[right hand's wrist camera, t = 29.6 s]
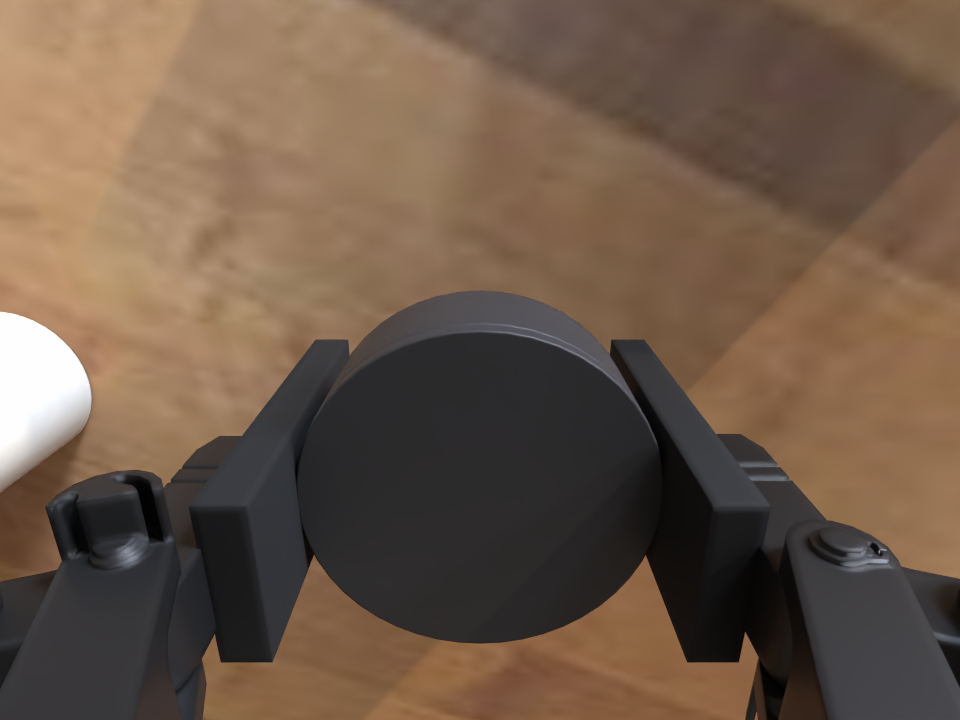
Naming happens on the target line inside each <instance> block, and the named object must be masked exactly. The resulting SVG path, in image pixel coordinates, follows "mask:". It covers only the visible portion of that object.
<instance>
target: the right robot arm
mask: <svg viewBox="0 0 960 720" xmlns="http://www.w3.org/2000/svg"><path fill="white" fill-rule="evenodd" d="M349 357H350V356H349V344H348V340H315V341H314V342H313V344H312V345H311V346H310V348H309V349H308V350H307V352H306V353H305V354H304V356H303V357H302V358H301V360H300V361H299V362H298V363H297V365H296V366H295V367H294V369H293V370H292V371H291V373H290V374H289V375H288V377H287V378H286V379H285V380H284V382H283V383H282V384H281V386H280V387H279V388H278V390H277V391H276V392H275V394H274V395H273V396H272V398H271V399H270V400H269V401H268V403H267V404H266V405H265V407H264V408H263V409H262V411H261V412H260V413H259V415H258V416H257V417H256V418H255V420H254V421H253V422H252V424H251V425H250V426H249V428H248V429H247V430H246V432H245V433H244V434H243V436H219V437H217V438H216V439H214V440H212V441H211V442H209V443H207V444H206V445H204V446H202V447H201V448H199V449H197V450H196V451H195V452H194V454H193V455H192V456H191V457H190V458H189V459H188V460H187V462H186V463H185V464H184V465H183V469H180V470H179V471H178V472H177V473H176V474H175V475H174V477H173V478H172V479H171V483H167V485H166V486H165V487H164V488H163V484H162V480H161V479H160V478H159V477H158V476H156V475H155V474H153V473H151V472H145V471H140V470H128V471H116V472H111V473H107V474H102V475H98V476H94V477H92V478H89V479H87V480H84V481H81V482H79V483H76V484H74V485H72V486H71V487H69V488H67V489H66V490H64V491H62V492H61V493H59V494H57V495H56V496H55V497H54V498H53V499H52V500H51V501H50V502H49V504H48V505H47V506H46V507H45V508H46V511H47V514H48V518H49V521H50V524H51V527H52V530H53V534H54V537H55V540H56V543H57V546H58V550H59V553H60V556H61V559H62V562H61V564H60V566H59V568H58V570H54V571H50V572H46V573H41V574H36V575H31V576H26V577H21V578H16V579H11V580H6V581H2V582H0V720H202V718H203V709H204V701H205V692H206V678H205V671H204V667H203V662H202V657H203V655H204V653H205V651H206V649H207V648H208V646H209V644H210V642H211V640H212V638H213V636H214V634H215V636H216V641H217V646H218V651H219V655H220V660H221V662H273V659H274V657H275V654H276V652H277V649H278V646H279V644H280V641H281V639H282V636H283V633H284V631H285V628H286V626H287V623H288V620H289V618H290V615H291V613H292V610H293V607H294V605H295V602H296V600H297V597H298V594H299V592H300V589H301V587H302V584H303V581H304V579H305V576H306V574H307V571H308V569H309V566H310V563H311V561H312V558H313V556H314V553H313V551H312V549H311V547H310V545H309V544H308V541H307V538H306V536H305V533H304V530H303V527H302V525H301V519H300V511H299V504H298V496H297V487H296V477H297V467H298V460H299V457H300V453H301V449H302V445H303V442H304V439H305V437H306V435H307V432H308V430H309V428H310V426H311V423H312V421H313V419H314V418H315V416H316V414H317V412H318V411H319V409H320V407H321V405H322V403H323V402H324V400H325V398H326V396H327V395H328V393H329V391H330V389H331V387H332V386H333V384H334V382H335V380H336V379H337V377H338V375H339V373H340V372H341V370H342V368H343V366H344V365H345V363H346V362H347V360H348V359H349ZM610 357H611V358H612V360H613V362H614V363H615V365H616V366H617V368H618V370H619V371H620V373H621V375H622V377H623V378H624V380H625V382H626V384H627V386H628V387H629V389H630V391H631V393H632V394H633V396H634V398H635V400H636V401H637V403H638V405H639V407H640V408H641V410H642V412H643V414H644V415H645V417H646V419H647V421H648V423H649V425H650V427H651V430H652V432H653V434H654V437H655V439H656V441H657V444H658V448H659V452H660V456H661V460H662V465H663V475H664V484H663V493H662V501H661V509H660V516H659V523H658V528H657V531H656V533H655V536H654V539H653V541H652V544H651V546H650V548H649V549H648V551H647V553H646V557H647V559H648V562H649V564H650V567H651V569H652V572H653V575H654V577H655V580H656V582H657V585H658V588H659V590H660V593H661V595H662V598H663V601H664V603H665V606H666V608H667V611H668V614H669V616H670V619H671V621H672V624H673V627H674V629H675V632H676V634H677V637H678V640H679V642H680V645H681V647H682V650H683V653H684V655H685V658H686V660H687V662H739V658H740V653H741V649H742V644H743V639H744V634H745V632H746V634H747V636H748V638H749V639H750V641H751V643H752V645H753V647H754V649H755V651H756V653H757V655H758V657H759V658H758V662H757V667H756V671H755V676H754V680H753V685H752V689H751V694H750V698H749V703H748V707H747V712H746V719H745V720H754V719H755V715H756V712H757V716H758V720H960V579H957V578H952V577H947V576H942V575H937V574H932V573H927V572H922V571H917V570H913V569H908V568H905V567H901V565H900V563H899V561H898V559H897V558H896V557H895V555H894V554H893V553H892V552H891V550H890V549H889V548H888V547H887V546H886V545H884V544H883V543H881V542H880V541H879V540H877V539H876V538H874V537H873V536H872V535H869V534H867V533H865V532H863V531H861V530H858V529H856V528H854V527H852V526H849V525H845V524H841V523H837V522H833V521H827V520H826V519H825V518H824V517H823V515H822V514H821V513H820V512H819V511H818V510H817V509H816V507H815V506H814V505H813V504H812V503H811V502H810V501H809V499H808V498H807V497H806V496H805V495H804V494H803V493H802V491H801V490H800V489H799V488H798V487H797V486H796V485H795V483H794V482H793V481H789V477H788V475H787V474H786V473H785V472H784V471H783V470H782V469H781V468H780V467H778V466H777V463H776V462H775V461H774V460H773V458H772V457H771V456H770V455H769V454H768V453H767V452H766V450H765V449H764V448H763V447H761V446H759V445H758V444H756V443H754V442H753V441H751V440H749V439H748V438H746V437H744V436H743V435H741V434H716V433H715V432H714V431H713V430H712V428H711V427H710V426H709V424H708V423H707V422H706V420H705V419H704V418H703V416H702V415H701V414H700V412H699V411H698V410H697V409H696V407H695V406H694V405H693V403H692V402H691V401H690V399H689V398H688V397H687V395H686V394H685V393H684V392H683V390H682V389H681V388H680V386H679V385H678V384H677V382H676V381H675V380H674V378H673V377H672V376H671V374H670V373H669V372H668V371H667V369H666V368H665V367H664V365H663V364H662V363H661V361H660V360H659V359H658V357H657V356H656V355H655V353H654V352H653V351H652V350H651V348H650V347H649V346H648V344H647V343H646V342H645V340H611V351H610Z"/></svg>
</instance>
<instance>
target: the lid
mask: <svg viewBox="0 0 960 720" xmlns="http://www.w3.org/2000/svg"><path fill="white" fill-rule="evenodd" d="M663 484H664V475H663V465H662V460H661V456H660V452H659V448H658V444H657V441H656V439H655V437H654V434H653V432H652V430H651V427H650V425H649V423H648V421H647V419H646V417H645V415H644V414H643V412H642V410H641V408H640V407H639V405H638V403H637V401H636V400H635V398H634V396H633V394H632V393H631V391H630V389H629V387H628V386H627V384H626V382H625V380H624V378H623V377H622V375H621V373H620V371H619V370H618V368H617V366H616V365H615V363H614V362H613V360H612V358H611V357H610V355H609V354H608V352H607V351H606V350H605V349H604V347H603V346H602V345H601V344H600V343H599V341H598V340H597V339H596V338H595V337H594V336H593V335H592V334H591V333H590V332H588V331H587V330H586V329H585V328H584V327H583V326H582V325H581V324H579V323H578V322H576V321H575V320H573V319H572V318H570V317H569V316H567V315H566V314H564V313H563V312H561V311H559V310H557V309H555V308H553V307H551V306H549V305H546V304H544V303H542V302H539V301H536V300H533V299H530V298H527V297H524V296H519V295H514V294H509V293H504V292H491V291H469V292H457V293H451V294H446V295H441V296H436V297H433V298H430V299H427V300H424V301H421V302H418V303H416V304H414V305H412V306H410V307H407V308H405V309H403V310H401V311H399V312H397V313H396V314H394V315H393V316H391V317H390V318H388V319H387V320H385V321H384V322H382V323H381V324H380V325H378V326H377V327H376V328H375V329H374V330H373V331H372V332H370V333H369V334H368V335H367V336H366V337H365V338H364V339H363V340H362V342H361V343H360V344H359V345H358V346H357V347H356V349H355V350H354V351H353V352H352V354H351V355H350V357H349V359H348V360H347V362H346V363H345V365H344V366H343V368H342V370H341V372H340V373H339V375H338V377H337V379H336V380H335V382H334V384H333V386H332V387H331V389H330V391H329V393H328V395H327V396H326V398H325V400H324V402H323V403H322V405H321V407H320V409H319V411H318V412H317V414H316V416H315V418H314V419H313V421H312V423H311V426H310V428H309V430H308V432H307V435H306V437H305V439H304V442H303V445H302V449H301V453H300V457H299V460H298V467H297V477H296V487H297V496H298V504H299V511H300V519H301V525H302V527H303V530H304V533H305V536H306V538H307V541H308V544H309V545H310V547H311V549H312V551H313V553H314V555H315V557H316V558H317V560H318V562H319V563H320V565H321V566H322V567H323V569H324V570H325V571H326V573H327V574H328V576H329V577H330V578H331V579H332V580H333V581H334V582H335V583H336V585H337V586H338V587H339V588H340V589H341V590H342V591H343V592H344V593H345V594H347V595H348V596H349V597H350V598H351V599H353V600H354V601H355V602H356V603H357V604H359V605H360V606H361V607H363V608H364V609H366V610H368V611H369V612H371V613H372V614H374V615H375V616H377V617H379V618H381V619H383V620H385V621H387V622H389V623H391V624H393V625H395V626H397V627H399V628H402V629H405V630H407V631H410V632H413V633H415V634H419V635H423V636H427V637H431V638H434V639H439V640H446V641H452V642H460V643H500V642H508V641H514V640H521V639H525V638H529V637H533V636H537V635H541V634H545V633H547V632H550V631H553V630H555V629H558V628H561V627H563V626H565V625H567V624H569V623H571V622H573V621H576V620H578V619H580V618H582V617H583V616H585V615H586V614H588V613H589V612H591V611H593V610H594V609H596V608H597V607H599V606H600V605H601V604H603V603H604V602H605V601H606V600H608V599H609V598H610V597H611V596H612V595H614V594H615V593H616V592H617V591H618V590H619V589H620V588H621V587H622V586H623V585H624V584H625V582H626V581H627V580H628V579H629V578H630V577H631V576H632V574H633V573H634V572H635V570H636V569H637V568H638V566H639V565H640V563H641V562H642V560H643V559H644V557H645V555H646V553H647V551H648V549H649V548H650V546H651V544H652V541H653V539H654V536H655V533H656V531H657V528H658V523H659V516H660V509H661V501H662V493H663Z"/></svg>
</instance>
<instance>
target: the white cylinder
mask: <svg viewBox="0 0 960 720" xmlns="http://www.w3.org/2000/svg"><path fill="white" fill-rule="evenodd" d="M91 404H92V397H91V388H90V384H89V380H88V377H87V375H86V372H85V370H84V368H83V366H82V364H81V363H80V361H79V359H78V358H77V356H76V355H75V354H74V353H73V351H72V350H71V349H70V348H69V347H68V346H67V345H66V344H65V342H64V341H62V340H61V339H60V338H59V337H58V336H57V335H55V334H54V333H53V332H51V331H50V330H48V329H47V328H46V327H44V326H42V325H40V324H38V323H37V322H35V321H32V320H30V319H28V318H25V317H22V316H19V315H15V314H11V313H5V312H0V493H2V492H3V491H4V490H6V489H7V488H8V487H10V486H11V485H12V484H14V483H15V482H16V481H18V480H19V479H20V478H22V477H23V476H24V475H26V474H27V473H29V472H30V471H31V470H33V469H34V468H35V467H37V466H38V465H39V464H41V463H42V462H43V461H45V460H46V459H47V458H49V457H50V456H51V455H53V454H54V453H55V452H57V451H58V450H59V449H61V448H62V447H63V446H65V445H66V444H67V443H69V442H70V441H71V440H73V439H74V438H75V437H76V436H77V435H78V434H79V433H80V432H81V431H82V429H83V428H84V426H85V424H86V422H87V420H88V418H89V414H90V411H91Z"/></svg>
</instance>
